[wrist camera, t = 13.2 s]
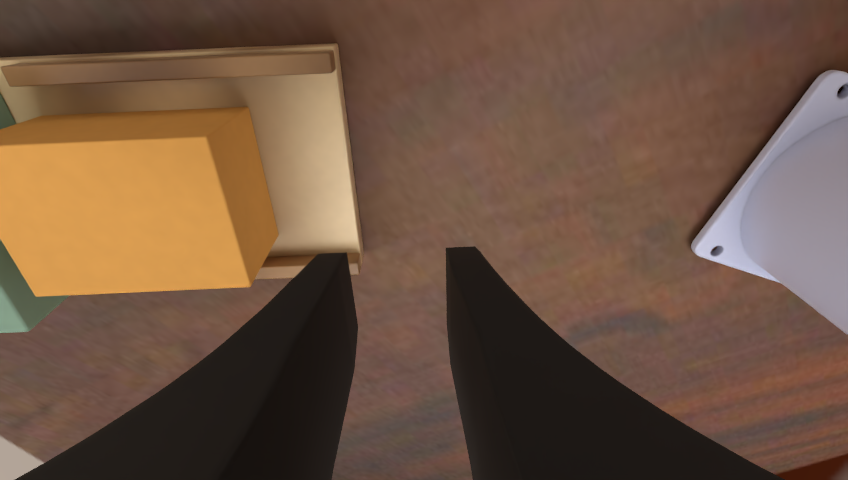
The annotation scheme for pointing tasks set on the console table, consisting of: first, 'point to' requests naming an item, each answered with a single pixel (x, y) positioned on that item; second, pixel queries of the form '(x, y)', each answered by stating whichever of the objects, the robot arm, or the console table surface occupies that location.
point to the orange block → (135, 201)
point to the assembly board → (223, 88)
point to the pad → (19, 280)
